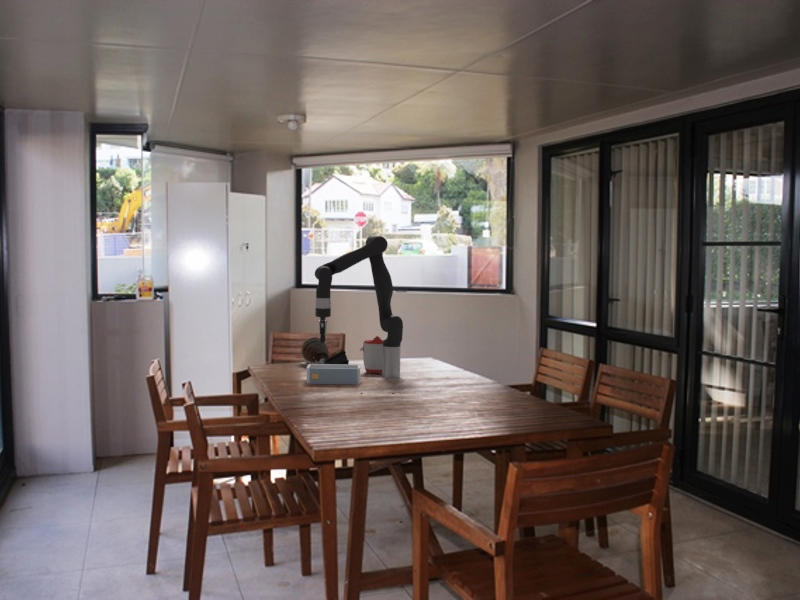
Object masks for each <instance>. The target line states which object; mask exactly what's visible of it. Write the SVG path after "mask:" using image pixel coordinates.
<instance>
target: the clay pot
mask: <svg viewBox="0 0 800 600" xmlns="http://www.w3.org/2000/svg"><path fill="white" fill-rule="evenodd" d="M301 355H302V358H303V361H304V362H305V364H306V365H308V364H326V362H325V361H324V360H325V359H324V358H326V357H328V356H329V355H330V352H329V349H328V346H327V344H326V341H325V342H324V343H321V342H320V338H319V337H316V336H315V337H310V338H308V339H306V340H304V341H303V344H302V346H301Z"/></svg>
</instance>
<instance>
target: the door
mask: <svg viewBox="0 0 800 600" xmlns="http://www.w3.org/2000/svg"><path fill="white" fill-rule="evenodd" d="M309 385H358V384H357V368H310V382H309Z"/></svg>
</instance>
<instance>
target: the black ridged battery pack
mask: <svg viewBox="0 0 800 600" xmlns="http://www.w3.org/2000/svg"><path fill="white" fill-rule="evenodd" d="M346 353H347V351H345V350H344V349H343V348H341V349H340V350H339V349H338V350H337V351H335V352H333V353H332V354H329V356H328V357H326V358H324V359H325V360H324V361H325V362H326V364H342V365H350V364H349V363H350V360H349V359H348V357H347V354H346Z"/></svg>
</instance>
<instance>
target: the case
mask: <svg viewBox="0 0 800 600" xmlns="http://www.w3.org/2000/svg"><path fill="white" fill-rule="evenodd" d="M310 368H357V384H356V385H360V384H361V364H349V365H342V364H307V366H306V384H310Z"/></svg>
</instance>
